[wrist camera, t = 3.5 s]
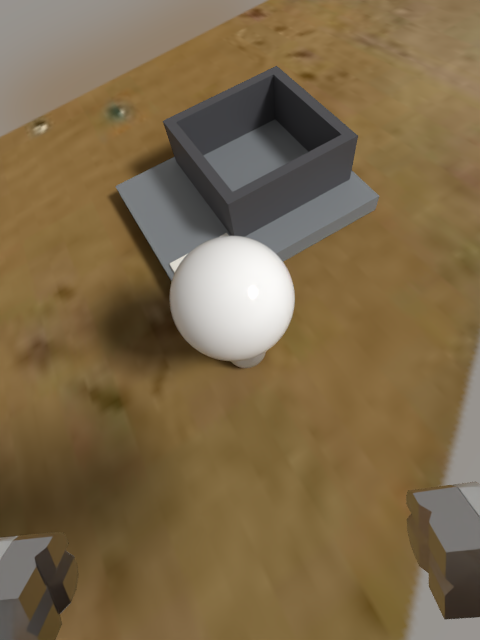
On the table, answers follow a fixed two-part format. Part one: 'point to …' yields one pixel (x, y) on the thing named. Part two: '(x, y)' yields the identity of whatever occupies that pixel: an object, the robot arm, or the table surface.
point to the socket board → (250, 173)
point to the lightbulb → (232, 299)
